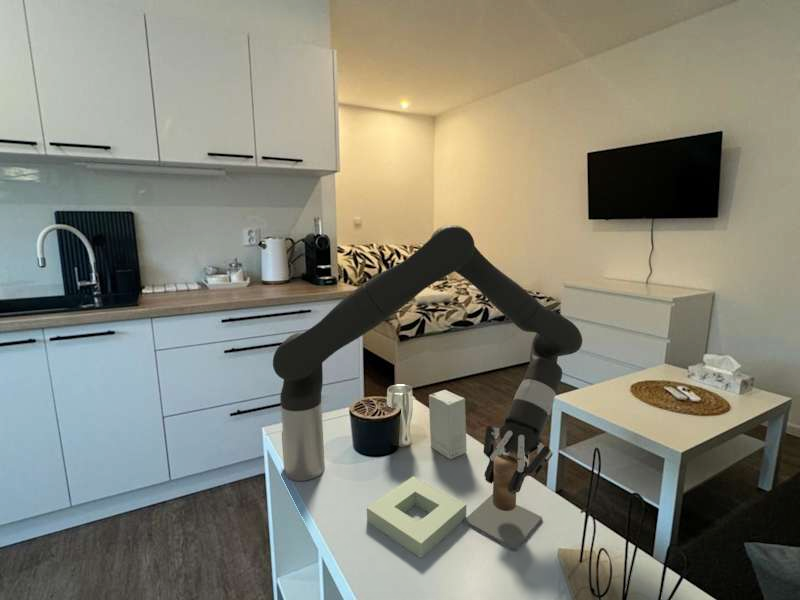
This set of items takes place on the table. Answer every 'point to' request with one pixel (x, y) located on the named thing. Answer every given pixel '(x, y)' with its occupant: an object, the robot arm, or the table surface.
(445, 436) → the skincare box
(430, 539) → the collar block
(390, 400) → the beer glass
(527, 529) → the rubber mat
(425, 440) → the table surface
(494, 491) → the walnut pin
